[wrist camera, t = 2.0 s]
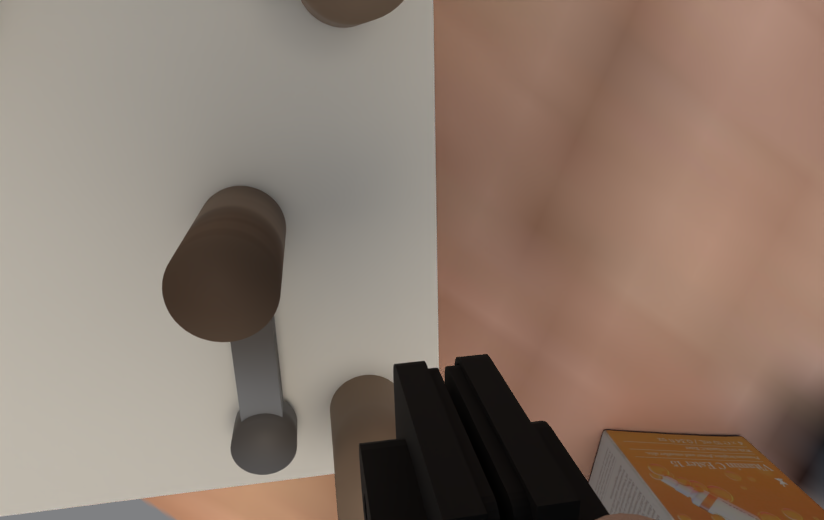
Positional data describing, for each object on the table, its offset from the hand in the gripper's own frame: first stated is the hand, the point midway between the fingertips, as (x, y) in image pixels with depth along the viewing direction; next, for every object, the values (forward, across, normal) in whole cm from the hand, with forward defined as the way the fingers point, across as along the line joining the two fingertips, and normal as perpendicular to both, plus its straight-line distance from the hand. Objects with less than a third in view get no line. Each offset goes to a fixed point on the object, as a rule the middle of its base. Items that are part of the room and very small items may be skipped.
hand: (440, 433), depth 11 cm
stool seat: (+15, +6, -1) cm, 17 cm away
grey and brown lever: (+13, +4, +3) cm, 14 cm away
